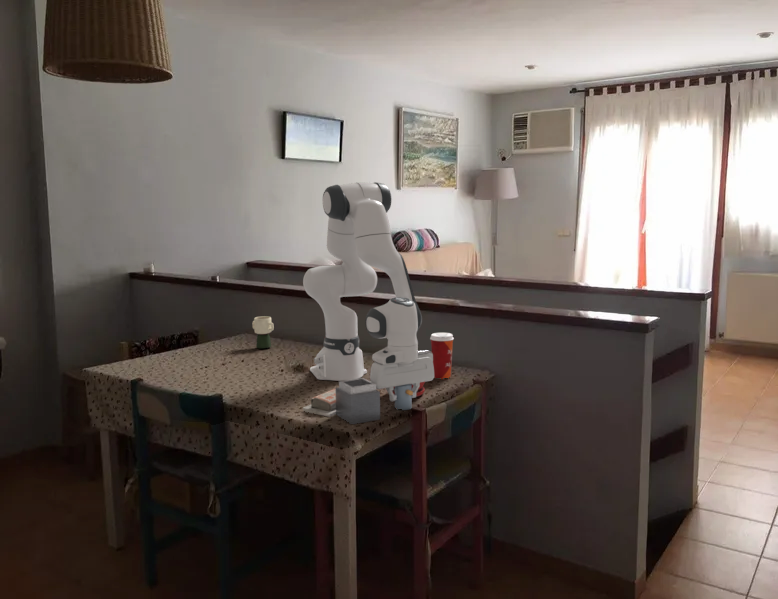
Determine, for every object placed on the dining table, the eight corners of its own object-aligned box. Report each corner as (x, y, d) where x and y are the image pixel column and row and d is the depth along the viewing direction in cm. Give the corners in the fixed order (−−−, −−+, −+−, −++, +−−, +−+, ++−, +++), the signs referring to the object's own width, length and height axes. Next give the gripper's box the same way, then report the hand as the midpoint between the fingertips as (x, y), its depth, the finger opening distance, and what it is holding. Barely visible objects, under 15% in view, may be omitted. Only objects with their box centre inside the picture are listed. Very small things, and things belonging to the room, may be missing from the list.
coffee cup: (455, 379, 230) (455, 336, 227) (431, 380, 229) (431, 337, 227) (451, 373, 238) (451, 331, 236) (428, 374, 237) (428, 332, 235)
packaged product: (338, 382, 211) (364, 387, 206) (338, 397, 212) (364, 402, 207) (302, 397, 196) (329, 402, 191) (302, 413, 197) (329, 418, 192)
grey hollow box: (336, 414, 193) (335, 381, 192) (364, 409, 198) (363, 376, 196) (351, 424, 185) (350, 389, 183) (380, 419, 189) (379, 384, 188)
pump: (391, 406, 201) (391, 383, 200) (406, 404, 203) (406, 381, 202) (403, 412, 195) (403, 389, 194) (418, 410, 197) (418, 387, 196)
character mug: (279, 347, 282) (278, 317, 280) (268, 351, 276) (267, 320, 274) (259, 345, 287) (257, 315, 285) (248, 348, 281) (246, 318, 279)
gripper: (427, 347, 205) (427, 391, 207) (367, 355, 195) (368, 401, 197) (438, 351, 199) (438, 396, 202) (377, 359, 190) (378, 407, 192)
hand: (403, 399), depth 199 cm, fingers open, 5 cm apart
